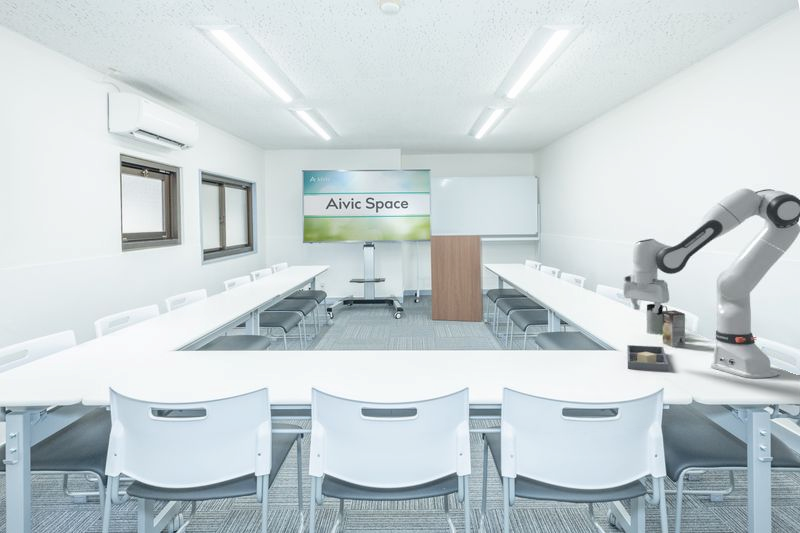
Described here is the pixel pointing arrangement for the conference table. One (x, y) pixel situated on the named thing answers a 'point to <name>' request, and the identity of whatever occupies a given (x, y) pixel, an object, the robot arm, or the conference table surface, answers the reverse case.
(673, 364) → the conference table surface
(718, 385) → the conference table surface
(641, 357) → the sandstone block
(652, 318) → the grey mug
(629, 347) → the divided bin
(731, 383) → the conference table surface
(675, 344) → the coffee box
